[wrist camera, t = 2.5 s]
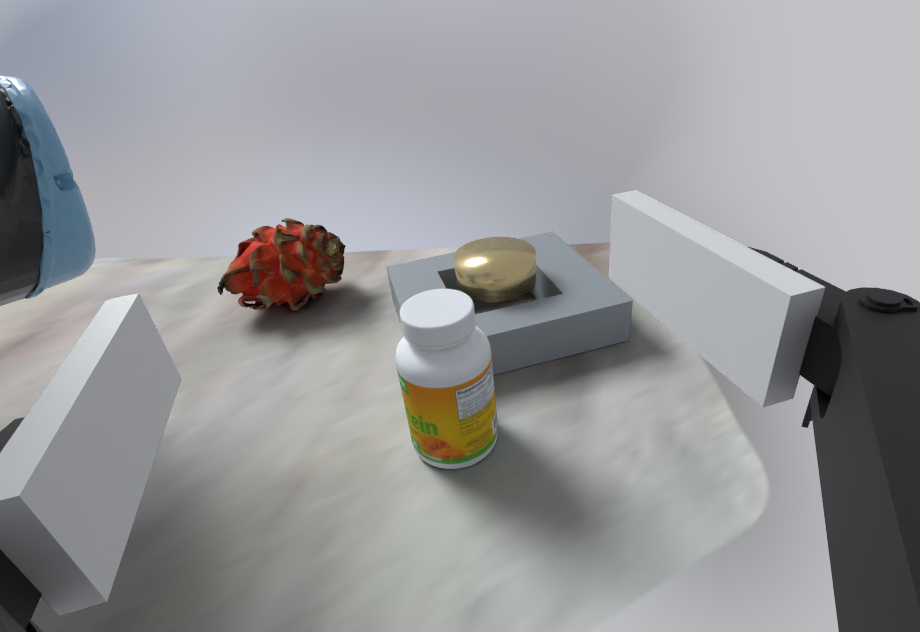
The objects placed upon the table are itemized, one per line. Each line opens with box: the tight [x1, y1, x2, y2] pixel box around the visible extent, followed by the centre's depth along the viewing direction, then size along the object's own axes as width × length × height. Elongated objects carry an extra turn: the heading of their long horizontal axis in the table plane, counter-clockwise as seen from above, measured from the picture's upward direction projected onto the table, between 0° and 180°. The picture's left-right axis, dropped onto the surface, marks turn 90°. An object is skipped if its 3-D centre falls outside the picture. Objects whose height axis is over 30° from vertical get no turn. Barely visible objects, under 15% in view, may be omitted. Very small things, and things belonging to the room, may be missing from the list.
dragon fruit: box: [218, 218, 345, 311], centre depth 48 cm, size 8×8×12 cm
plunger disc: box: [454, 237, 536, 302], centre depth 41 cm, size 6×6×2 cm
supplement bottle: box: [395, 289, 498, 469], centre depth 30 cm, size 5×5×10 cm
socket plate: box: [386, 232, 632, 375], centre depth 43 cm, size 16×14×4 cm
